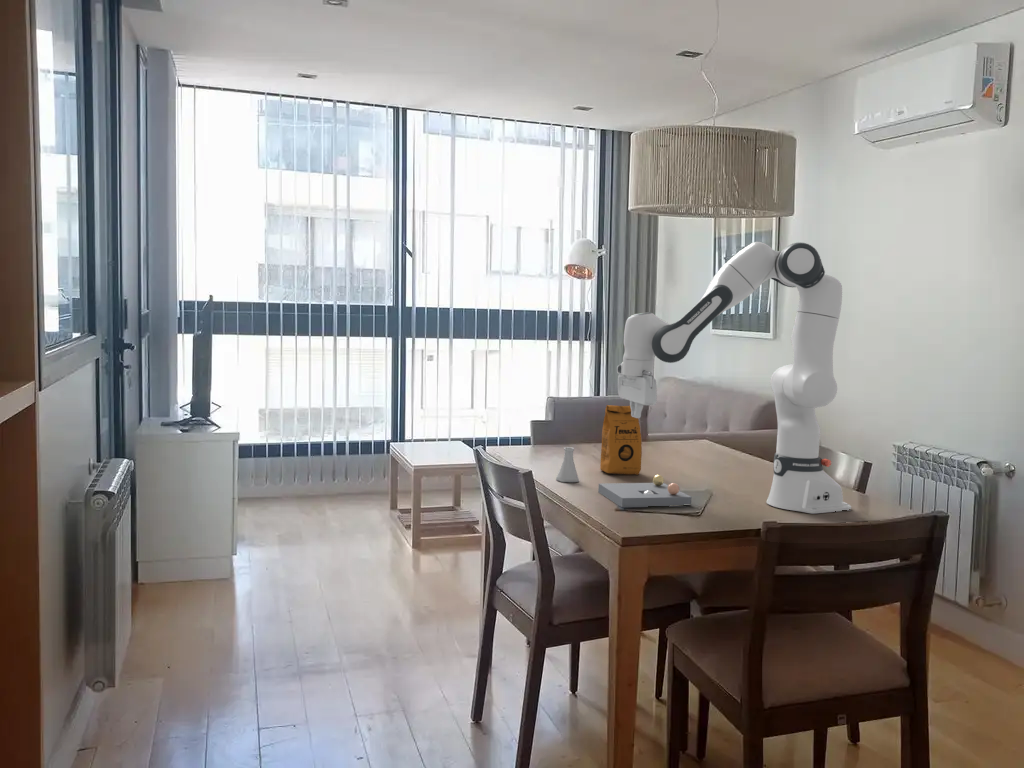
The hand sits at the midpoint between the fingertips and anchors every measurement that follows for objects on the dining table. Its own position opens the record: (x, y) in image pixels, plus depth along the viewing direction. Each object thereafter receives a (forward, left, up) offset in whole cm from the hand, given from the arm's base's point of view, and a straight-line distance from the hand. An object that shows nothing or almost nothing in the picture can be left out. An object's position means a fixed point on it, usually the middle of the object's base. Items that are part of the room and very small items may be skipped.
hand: (635, 417), depth 238 cm
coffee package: (-7, -26, -22) cm, 34 cm away
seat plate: (0, +9, -22) cm, 23 cm away
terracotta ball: (-6, +15, -17) cm, 24 cm away
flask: (+14, -16, -22) cm, 30 cm away
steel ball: (+1, +13, -20) cm, 24 cm away
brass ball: (-6, +4, -17) cm, 19 cm away
